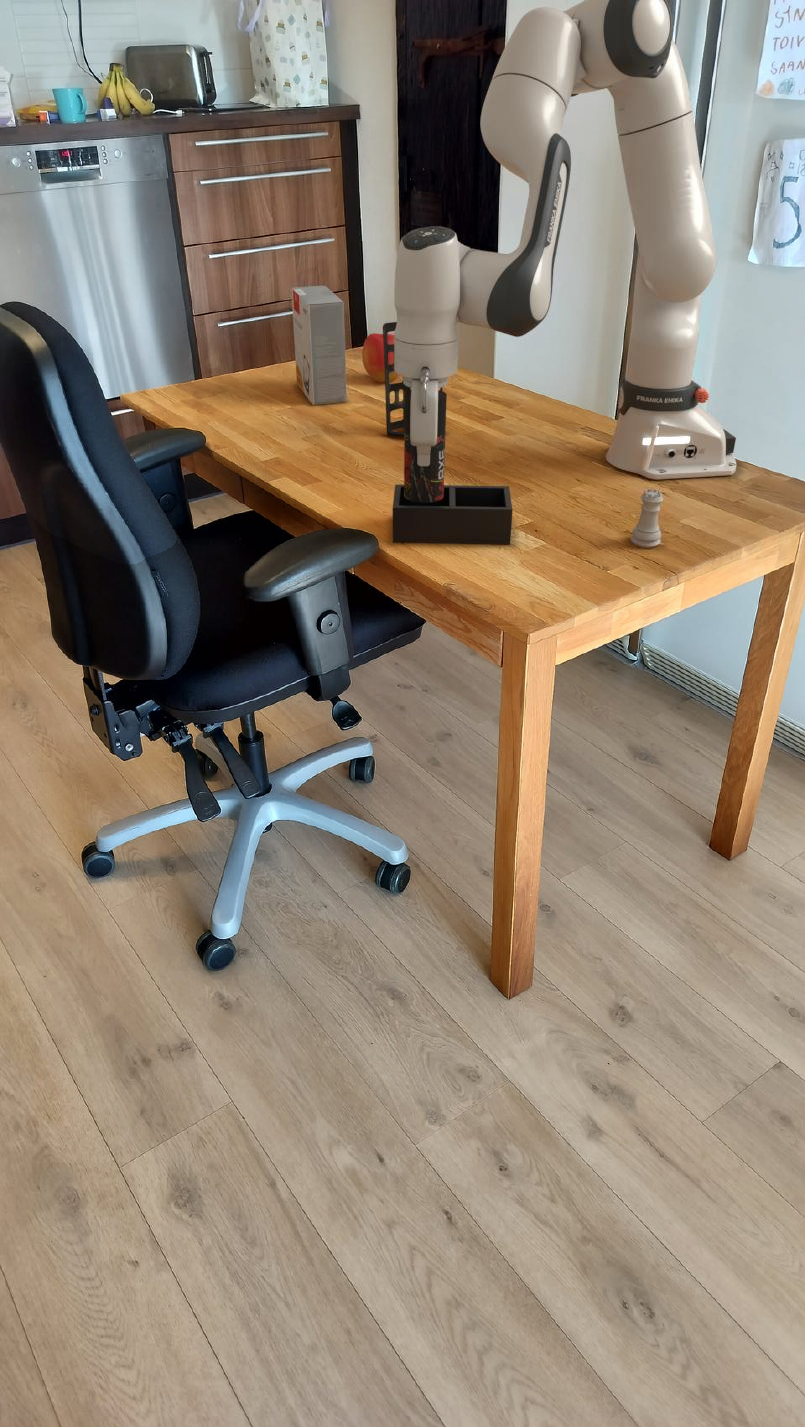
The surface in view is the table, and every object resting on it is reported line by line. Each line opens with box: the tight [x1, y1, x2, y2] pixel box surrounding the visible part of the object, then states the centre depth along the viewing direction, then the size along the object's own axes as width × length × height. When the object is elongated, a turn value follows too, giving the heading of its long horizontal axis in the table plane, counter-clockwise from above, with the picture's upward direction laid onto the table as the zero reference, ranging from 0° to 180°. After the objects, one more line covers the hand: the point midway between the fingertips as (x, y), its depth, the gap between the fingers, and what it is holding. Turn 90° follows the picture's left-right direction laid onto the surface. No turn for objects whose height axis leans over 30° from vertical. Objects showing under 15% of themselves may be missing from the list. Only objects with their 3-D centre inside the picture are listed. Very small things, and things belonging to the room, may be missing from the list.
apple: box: [361, 332, 401, 384], centre depth 215 cm, size 10×10×10 cm
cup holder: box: [392, 483, 514, 546], centre depth 150 cm, size 9×18×6 cm, turn 88°
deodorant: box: [403, 390, 448, 503], centre depth 145 cm, size 6×6×15 cm
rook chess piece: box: [630, 488, 664, 549], centre depth 146 cm, size 4×4×8 cm
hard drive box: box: [290, 285, 348, 406], centre depth 205 cm, size 16×8×20 cm, turn 17°
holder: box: [382, 321, 443, 438], centre depth 185 cm, size 11×8×20 cm
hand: (424, 455), depth 145 cm, fingers closed on deodorant, 6 cm apart
